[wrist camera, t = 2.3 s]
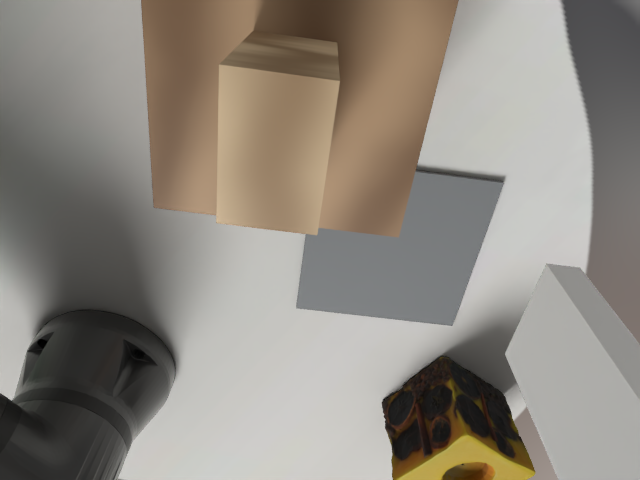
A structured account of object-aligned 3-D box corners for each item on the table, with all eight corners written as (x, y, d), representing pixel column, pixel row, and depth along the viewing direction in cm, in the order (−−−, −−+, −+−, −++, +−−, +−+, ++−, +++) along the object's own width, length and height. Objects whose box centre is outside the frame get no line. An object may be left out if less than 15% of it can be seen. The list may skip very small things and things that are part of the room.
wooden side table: (205, 133, 39) (94, 292, 20) (206, -77, 31) (32, -120, 13) (379, 156, 39) (420, 329, 21) (420, -45, 32) (538, -42, 14)
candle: (379, 400, 55) (388, 483, 46) (442, 351, 51) (464, 431, 42) (442, 436, 58) (461, 519, 50) (506, 392, 54) (538, 475, 45)
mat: (296, 305, 48) (296, 308, 47) (316, 157, 39) (315, 158, 39) (451, 323, 48) (452, 325, 48) (502, 181, 40) (503, 183, 40)
